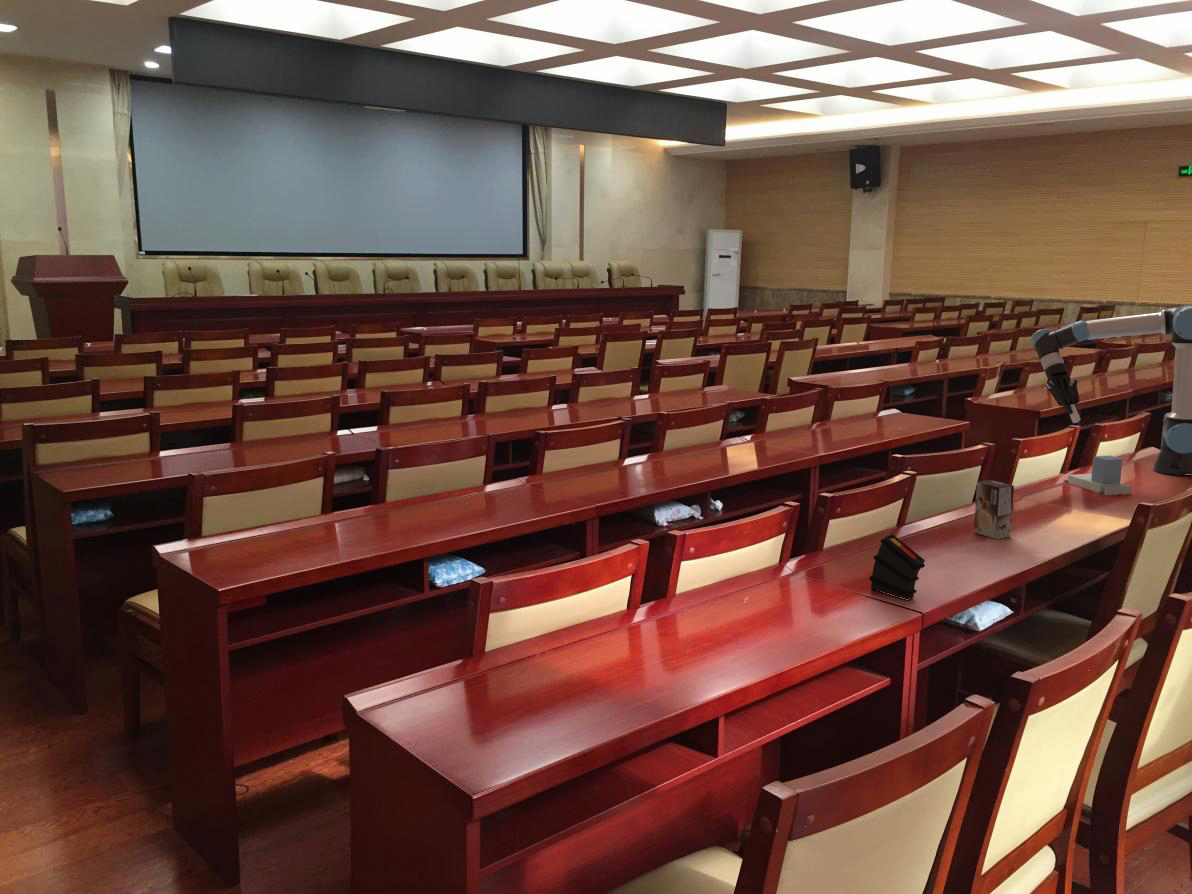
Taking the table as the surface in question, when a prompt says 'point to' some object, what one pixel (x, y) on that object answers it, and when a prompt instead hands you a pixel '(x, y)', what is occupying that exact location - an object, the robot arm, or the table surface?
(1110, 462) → the block
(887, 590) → the magazine
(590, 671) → the table surface
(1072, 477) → the trap deck
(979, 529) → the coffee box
